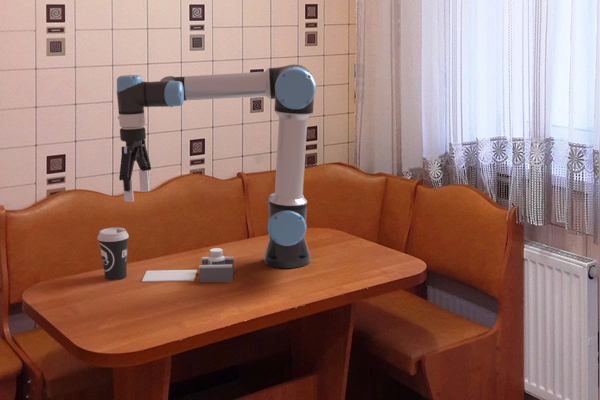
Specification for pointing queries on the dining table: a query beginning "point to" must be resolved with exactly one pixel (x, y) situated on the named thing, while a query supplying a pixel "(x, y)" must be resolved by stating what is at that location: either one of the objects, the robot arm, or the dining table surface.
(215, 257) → the pill bottle
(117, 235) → the coffee cup
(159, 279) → the mat
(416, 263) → the dining table surface
